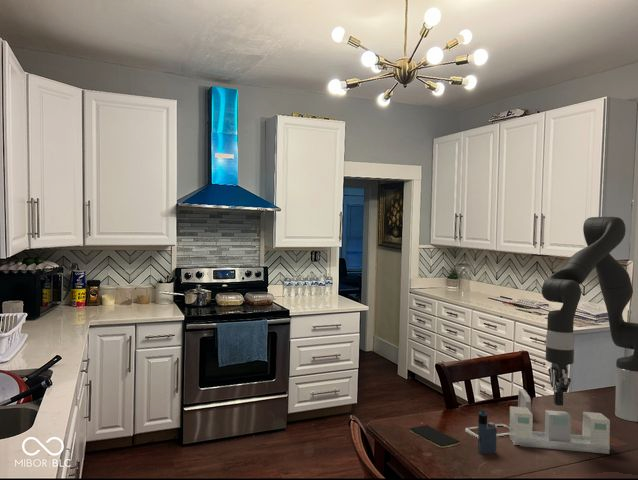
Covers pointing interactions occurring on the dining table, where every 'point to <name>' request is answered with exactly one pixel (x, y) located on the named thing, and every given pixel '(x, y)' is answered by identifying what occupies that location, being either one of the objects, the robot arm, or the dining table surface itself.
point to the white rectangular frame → (477, 427)
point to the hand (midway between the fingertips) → (558, 404)
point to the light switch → (524, 399)
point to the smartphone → (434, 436)
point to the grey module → (557, 426)
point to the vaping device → (486, 434)
